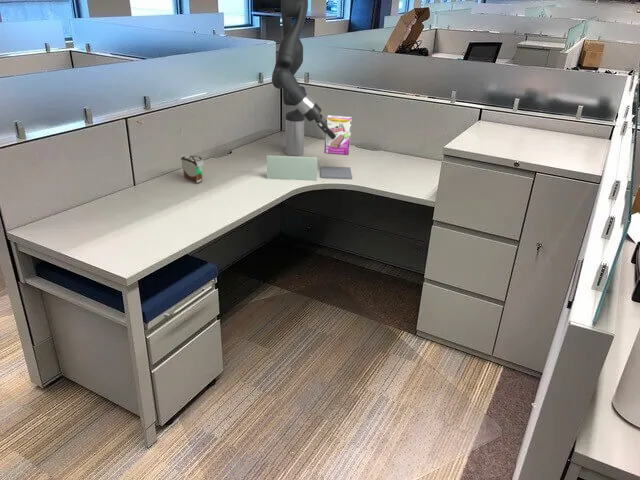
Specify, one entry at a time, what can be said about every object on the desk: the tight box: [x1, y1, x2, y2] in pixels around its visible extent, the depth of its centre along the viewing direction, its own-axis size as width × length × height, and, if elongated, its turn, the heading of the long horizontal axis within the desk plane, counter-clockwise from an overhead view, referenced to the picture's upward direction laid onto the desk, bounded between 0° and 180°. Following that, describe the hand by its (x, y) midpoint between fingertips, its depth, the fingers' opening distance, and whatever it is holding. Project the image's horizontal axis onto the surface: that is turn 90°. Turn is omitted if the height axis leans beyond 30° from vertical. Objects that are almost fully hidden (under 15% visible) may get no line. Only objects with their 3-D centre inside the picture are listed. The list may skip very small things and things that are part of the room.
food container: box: [180, 154, 205, 185], centre depth 216 cm, size 12×6×10 cm, turn 47°
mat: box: [320, 165, 353, 180], centre depth 232 cm, size 14×14×1 cm
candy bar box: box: [323, 114, 353, 156], centre depth 224 cm, size 11×5×16 cm, turn 85°
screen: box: [266, 155, 319, 181], centre depth 221 cm, size 2×22×10 cm, turn 91°
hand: (334, 136), depth 224 cm, fingers closed on candy bar box, 5 cm apart
